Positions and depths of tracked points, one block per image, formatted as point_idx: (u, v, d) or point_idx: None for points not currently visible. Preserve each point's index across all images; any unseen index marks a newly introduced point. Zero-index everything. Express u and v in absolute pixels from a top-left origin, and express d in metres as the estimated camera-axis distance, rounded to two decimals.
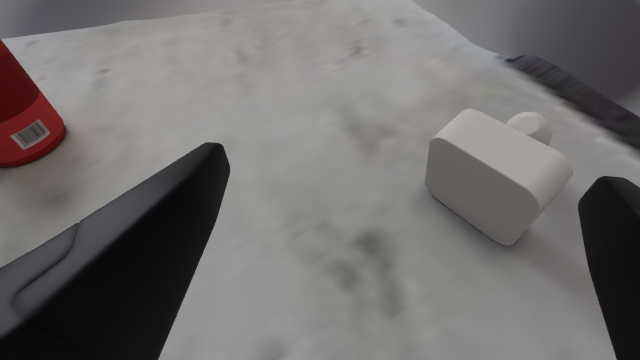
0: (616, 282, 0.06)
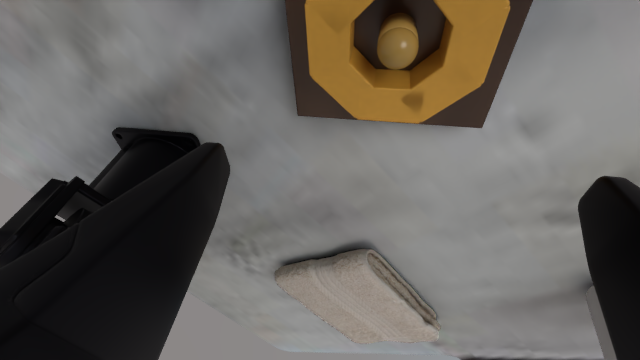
0: (616, 282, 0.06)
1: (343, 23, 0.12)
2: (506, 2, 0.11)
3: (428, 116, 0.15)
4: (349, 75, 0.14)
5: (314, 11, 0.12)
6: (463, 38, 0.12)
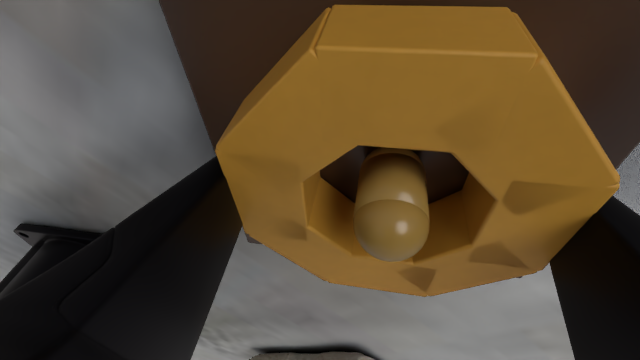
0: (572, 276, 0.06)
1: (289, 180, 0.07)
2: (614, 180, 0.05)
3: (442, 292, 0.09)
4: (310, 238, 0.08)
5: (234, 161, 0.07)
6: (514, 218, 0.06)
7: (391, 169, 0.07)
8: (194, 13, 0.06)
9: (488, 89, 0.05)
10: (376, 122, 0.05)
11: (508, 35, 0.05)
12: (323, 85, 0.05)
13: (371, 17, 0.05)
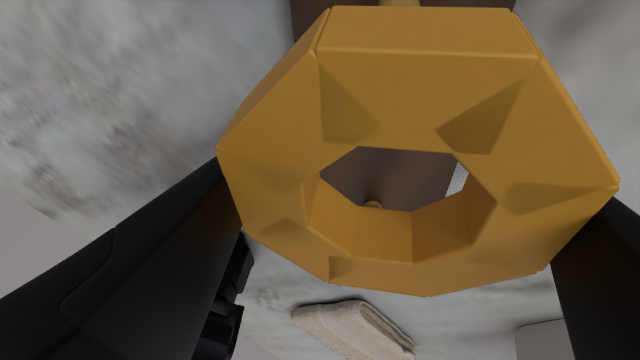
0: (572, 276, 0.06)
1: (289, 181, 0.07)
2: (614, 181, 0.05)
3: (442, 293, 0.09)
4: (310, 239, 0.08)
5: (234, 162, 0.07)
6: (514, 219, 0.06)
7: None
8: None
9: (488, 90, 0.05)
10: (376, 123, 0.05)
11: (508, 36, 0.05)
12: (323, 86, 0.05)
13: (371, 17, 0.05)
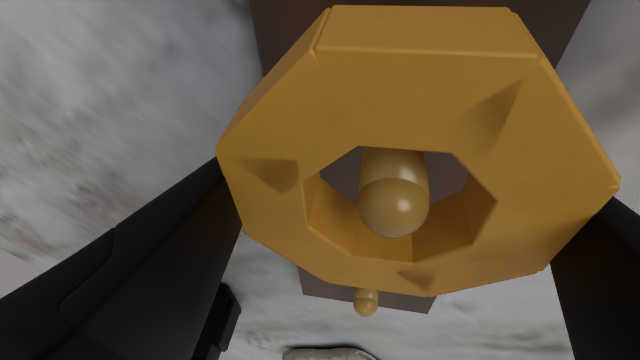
0: (572, 276, 0.06)
1: (289, 181, 0.07)
2: (614, 180, 0.05)
3: (442, 293, 0.09)
4: (310, 239, 0.08)
5: (234, 162, 0.07)
6: (514, 218, 0.06)
7: None
8: None
9: (488, 90, 0.05)
10: (376, 123, 0.05)
11: (508, 35, 0.05)
12: (323, 85, 0.05)
13: (371, 16, 0.05)
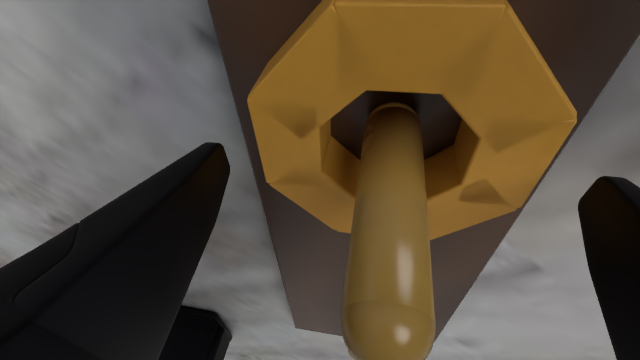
0: (616, 282, 0.06)
1: (308, 126, 0.08)
2: (572, 114, 0.07)
3: (437, 236, 0.10)
4: (323, 185, 0.10)
5: (263, 109, 0.08)
6: (495, 155, 0.08)
7: None
8: (293, 278, 0.18)
9: (469, 36, 0.06)
10: (381, 68, 0.07)
11: None
12: (340, 36, 0.06)
13: None
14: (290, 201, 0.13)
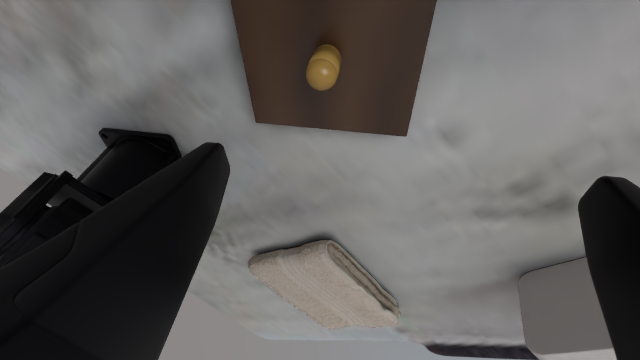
0: (616, 282, 0.06)
1: None
2: None
3: None
4: None
5: None
6: None
7: (322, 50, 0.16)
8: None
9: None
10: None
11: None
12: None
13: None
14: None
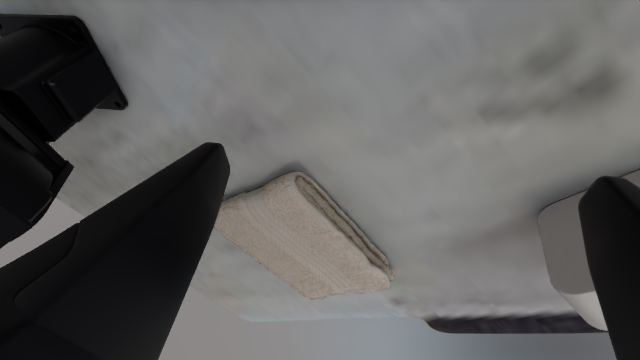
0: (616, 282, 0.06)
1: None
2: None
3: None
4: None
5: None
6: None
7: None
8: None
9: None
10: None
11: None
12: None
13: None
14: None
